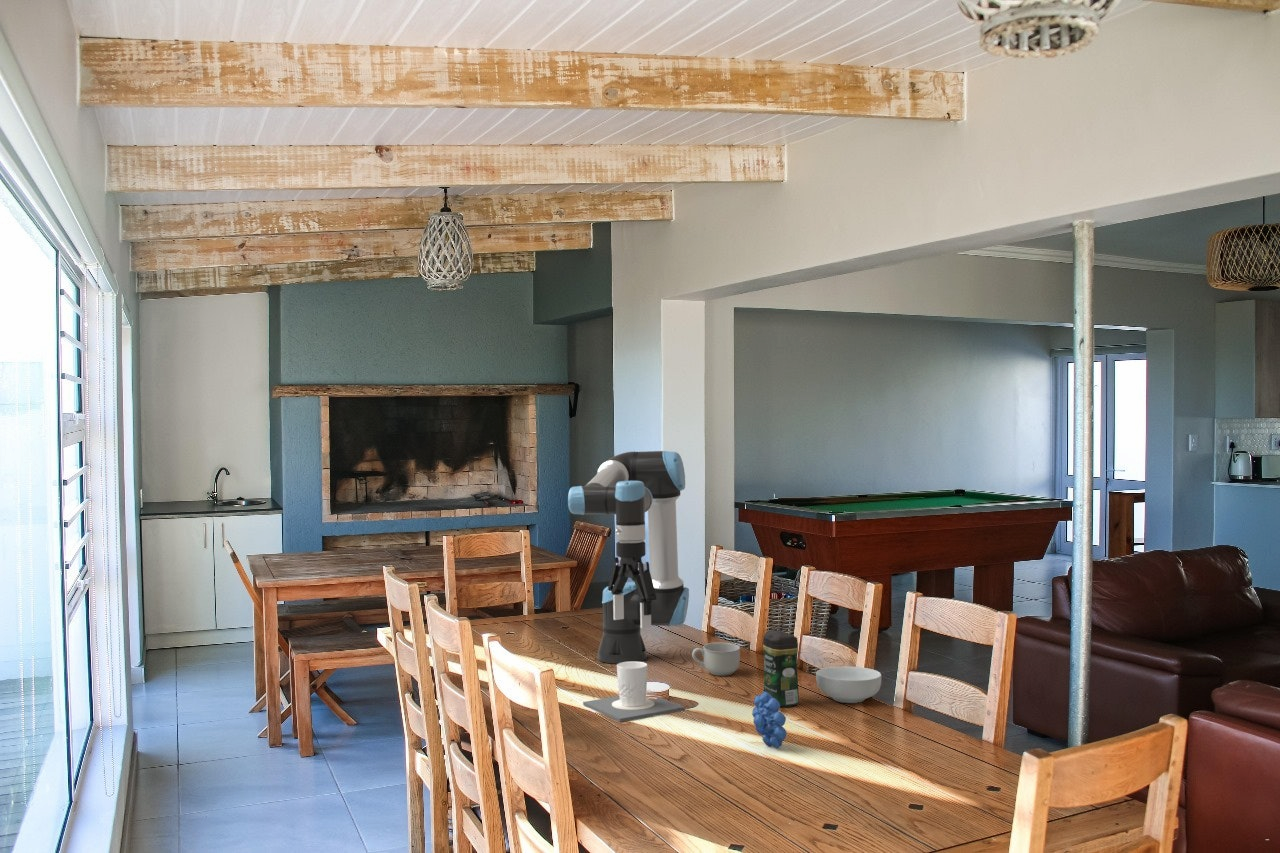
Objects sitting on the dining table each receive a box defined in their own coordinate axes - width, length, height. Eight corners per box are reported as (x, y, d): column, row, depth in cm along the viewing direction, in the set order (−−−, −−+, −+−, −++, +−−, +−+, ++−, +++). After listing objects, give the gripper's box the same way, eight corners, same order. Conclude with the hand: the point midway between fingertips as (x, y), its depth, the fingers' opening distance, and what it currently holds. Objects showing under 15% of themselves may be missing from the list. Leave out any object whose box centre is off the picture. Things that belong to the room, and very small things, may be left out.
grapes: (739, 742, 247) (738, 689, 247) (763, 737, 251) (763, 686, 250) (768, 755, 237) (767, 701, 237) (793, 751, 240) (792, 697, 240)
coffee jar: (759, 700, 284) (758, 629, 283) (786, 697, 286) (785, 627, 286) (775, 709, 275) (774, 636, 274) (803, 706, 277) (802, 633, 277)
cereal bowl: (893, 698, 284) (893, 671, 284) (860, 711, 271) (859, 683, 271) (838, 688, 295) (838, 662, 295) (803, 700, 283) (803, 673, 283)
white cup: (616, 700, 282) (616, 661, 282) (646, 699, 282) (646, 660, 282) (617, 708, 274) (617, 668, 274) (648, 707, 275) (648, 667, 275)
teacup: (740, 669, 318) (740, 642, 318) (740, 678, 308) (740, 650, 308) (693, 668, 320) (693, 641, 320) (691, 677, 309) (691, 649, 309)
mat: (583, 705, 281) (583, 701, 281) (645, 694, 291) (645, 690, 291) (619, 722, 265) (619, 718, 265) (684, 710, 275) (684, 706, 275)
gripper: (594, 537, 286) (595, 617, 287) (643, 546, 265) (644, 633, 265) (619, 535, 290) (620, 614, 291) (669, 544, 269) (670, 629, 269)
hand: (632, 623), depth 278 cm, fingers open, 13 cm apart
